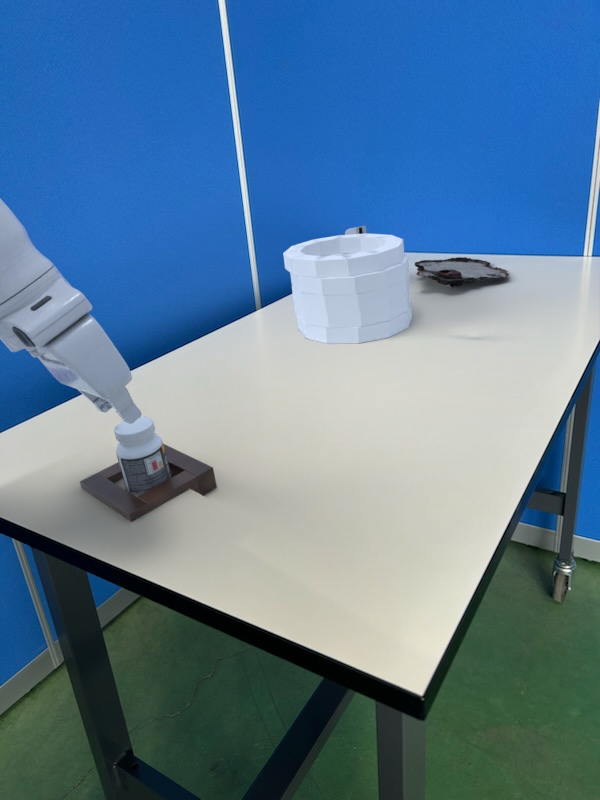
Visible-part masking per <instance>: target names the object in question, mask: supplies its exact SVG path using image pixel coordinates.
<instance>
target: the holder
mask: <svg viewBox="0 0 600 800" xmlns="http://www.w3.org/2000/svg"><path fill="white" fill-rule="evenodd" d="M163 446H164V450H165V454H166V457H167V462H168V465H169V469H170V473H171V477H172V478H170V479H168V480H167V481H165V482H163V483H161V484H159V485H158V486H156V487H154V488H152V489H150V490H148V491H147V492H145V493H143V494H138V496H136V495H135V494H133V493H130V492H129V491H127V489H126V488H123V487H121V486H120V485H118V484H116V483H117V482H119V481H122V479H123V476H122V472H121V469H120V465H119V462H118V461H117V462H116V463H114V464H112V465H110V466H108V467H106V468H104V469H102V470H99V471H97V472H96V473H94V474H92V475H89V476H87V477H86V478H84V479H82V480H80V481H79V485H80V488H81V490H83V491H84V492H86V493H88V494H89V495H90V496H92V497H93V498H94V499H96V500H97V501H98V500H99V502H101V503H102V504H104V505H105V506H107V507H108V508H109V509H111V510H113V511H115V513H117V514H119V515H121V516H122V517H124V519H126V520H128V521H129V522H130V523H132V522H134V521H136V520H138V519H140V518H141V517H144V516H145V515H147V514H148V513H150V512H152V511H154V510H156V509H157V508H159V507H161V506H162V505H164V504H166V503H168V502H169V501H171V500H173V499H174V498H176V497H179V496H180V495H181V494H183V493H185V492H187V491H189V490H191V491H193V492H195V493H197V494H199V495H201V496H206V495H208V493H210V492H212V491H214V490H215V489H217V488H218V486H217V485H218V484H217V480H216V476H215V471H214V467H213V466H211V465H209V464H207V463H206V462H205V463H204V462H203V461H201V460H199V459H196V458H194V457H192V456H191V455H188V454H186V453H184V452H182V451H180V450H177V449H176V448H173V447H172V446H170V445H168V444H166V443H163ZM123 480H124V479H123Z"/></svg>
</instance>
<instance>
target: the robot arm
mask: <svg viewBox="0 0 600 800" xmlns="http://www.w3.org/2000/svg"><path fill="white" fill-rule="evenodd" d="M29 236H30V235H29V233H28V231H27V229H26V227H25V226H24V225H23V224H22V222H21V221H20V220H19V218H18V217H17V216H16V215H15V213H14V212H13V211H12V210H11V208H10V207H9V206H8V205H7V204H6V202H4V201H3V199H2V198H1V197H0V341H1V342H2V343H3V344H4V345H5V346H6V348H7V349H8V350H9V351H10V352H11V353H17V352H19V351H23V350H26V351H27V352H28V353H29V354H30V355H31V357H32V358H37V359H38V360H39V361H40V362H41V364H43V366H44V367H45V368H46V369H47V370H48V372H49V373H50V374H51V375H52V377H53V378H54V379H55V380H56V381H58V382H59V383H60V384H62V385H65V386H68V387H71V388H73V389H76V390H77V391H78V392H79V393H81V394H82V395H83V396H84V397H85V398H86V399H87V400H88V401H90V402H91V403H92V404H93V406H94V407H95V408H96V409H97V410H98V411H99V412H102V413H108V412H109V411H110V410H111V409H112V408H113V409H114V410H115V412H116V414H117V415H118V416H119V417H120V419H122V421H125V422H127V423H129V424H132V423H134V422H135V421H136V420H137V419H139V418H140V417H142V411H141V410H140V408H139V407H138V406H137V405H136V403H135V402H134V400H133V398H132V396H131V393H130V392H129V390H128V388H127V387H126V386H127V385H128V384H129V383H130V382H131V381H132V380H133V375H132V372H131V370H130V367H129V365H128V363H127V362H126V360H125V359H124V357H123V356H122V354H121V353H120V352H119V350H118V348H117V347H116V346H115V344H114V343H113V341H112V340H111V339H110V337H109V335H108V334H107V333H106V331H105V330H104V328H103V327H102V325H100V323H99V322H98V320H96V318H95V317H94V316H93V315H92V314H90V313H89V312H90V311H92V310H93V305H92V304H91V302H90V300H89V299H88V298H87V297H86V296H85V294H84V293H83V292H81V290H79V289H77V288H75V287H74V286H72V284H70V282H69V281H68V280H67V279H66V278H65V277H64V276H63V274H62V273H61V271H60V270H59V269H58V268H57V266H56V265H55V264H54V263H53V261H52V260H50V259H49V258H48V257H46V256H45V255H44V254H42V253H41V252H40V251H39V250H38V249H37V247H36V246H35V245H34V243H33V242H32V240H31V238H30V237H29Z"/></svg>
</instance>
